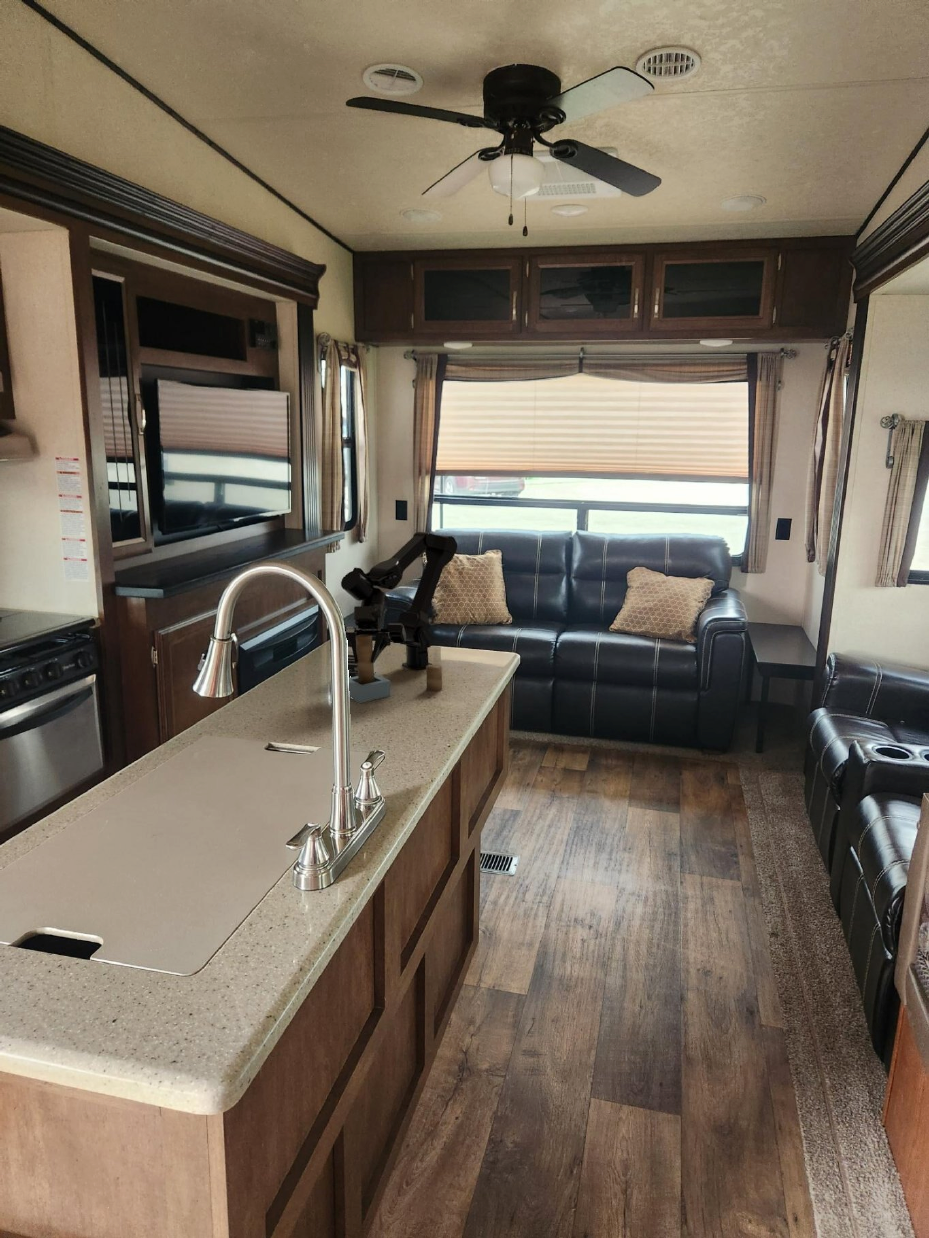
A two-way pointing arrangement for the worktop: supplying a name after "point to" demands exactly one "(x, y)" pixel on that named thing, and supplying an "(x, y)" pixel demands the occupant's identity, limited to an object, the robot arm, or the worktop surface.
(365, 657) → the tall pin
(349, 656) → the medicine bottle
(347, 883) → the worktop surface
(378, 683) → the socket block
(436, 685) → the short pin
